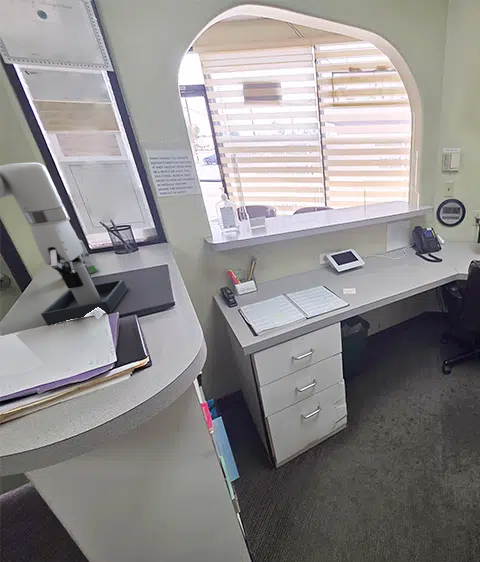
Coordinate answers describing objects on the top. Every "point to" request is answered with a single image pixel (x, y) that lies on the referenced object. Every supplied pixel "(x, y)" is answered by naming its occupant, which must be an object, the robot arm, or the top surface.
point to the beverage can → (84, 286)
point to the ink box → (86, 259)
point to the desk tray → (70, 308)
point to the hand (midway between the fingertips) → (80, 282)
